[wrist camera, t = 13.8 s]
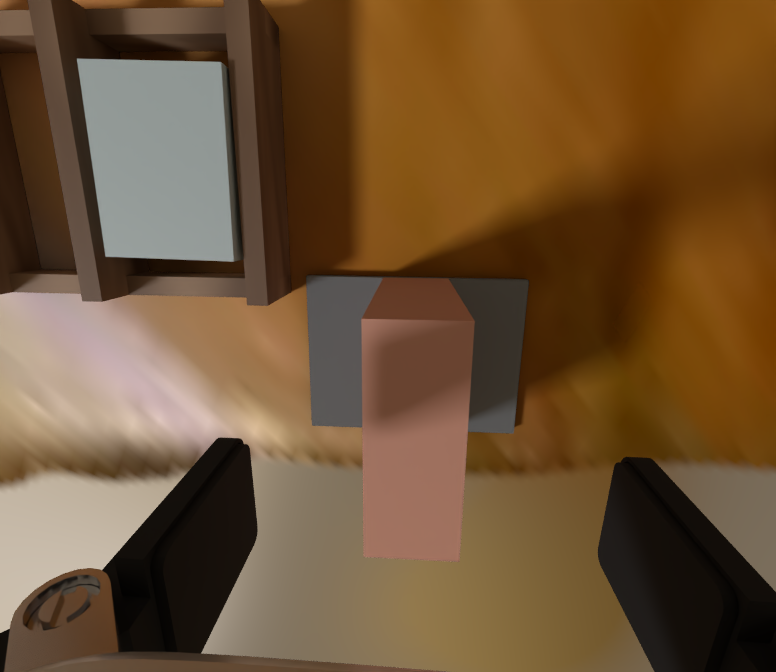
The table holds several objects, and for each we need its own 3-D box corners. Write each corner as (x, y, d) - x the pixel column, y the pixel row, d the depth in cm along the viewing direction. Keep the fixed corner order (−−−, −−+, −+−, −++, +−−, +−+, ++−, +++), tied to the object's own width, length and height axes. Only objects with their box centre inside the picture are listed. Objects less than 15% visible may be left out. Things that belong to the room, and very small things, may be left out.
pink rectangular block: (448, 278, 22) (474, 321, 13) (441, 430, 25) (459, 561, 15) (383, 277, 23) (361, 318, 13) (382, 428, 25) (363, 557, 15)
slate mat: (526, 279, 23) (529, 280, 22) (511, 428, 25) (513, 433, 25) (308, 274, 23) (306, 276, 23) (314, 420, 26) (312, 425, 25)
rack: (278, 27, 20) (247, -19, 17) (291, 292, 24) (267, 305, 20) (-27, 30, 21) (-125, -12, 17) (28, 286, 25) (-44, 298, 21)
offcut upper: (244, 81, 19) (220, 61, 17) (253, 257, 22) (233, 261, 19) (117, 78, 20) (77, 58, 17) (139, 252, 22) (105, 256, 19)
